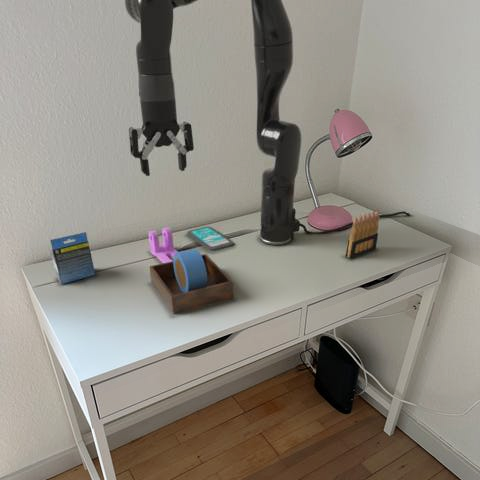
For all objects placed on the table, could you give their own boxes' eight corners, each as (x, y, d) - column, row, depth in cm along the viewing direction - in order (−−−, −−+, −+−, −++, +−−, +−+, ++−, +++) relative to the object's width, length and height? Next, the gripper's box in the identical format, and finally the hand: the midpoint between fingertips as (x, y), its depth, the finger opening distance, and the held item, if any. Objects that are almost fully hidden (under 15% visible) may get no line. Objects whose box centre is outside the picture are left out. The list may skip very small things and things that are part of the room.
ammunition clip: (350, 259, 128) (356, 218, 121) (345, 256, 129) (351, 216, 122) (375, 249, 133) (383, 209, 126) (370, 247, 134) (378, 207, 128)
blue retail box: (91, 269, 123) (82, 226, 116) (95, 275, 120) (86, 231, 113) (57, 278, 119) (45, 234, 112) (61, 285, 116) (49, 240, 109)
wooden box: (206, 270, 123) (205, 253, 120) (233, 299, 111) (233, 281, 108) (151, 283, 117) (149, 266, 114) (173, 315, 105) (171, 297, 102)
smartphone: (210, 249, 130) (185, 231, 141) (210, 252, 131) (185, 234, 141) (235, 242, 134) (209, 225, 144) (235, 245, 135) (209, 228, 145)
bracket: (150, 252, 131) (147, 229, 127) (168, 247, 134) (166, 225, 130) (170, 271, 122) (167, 247, 118) (189, 265, 125) (187, 242, 121)
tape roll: (192, 278, 118) (190, 242, 112) (208, 297, 111) (206, 259, 105) (174, 282, 116) (171, 246, 110) (189, 301, 109) (186, 263, 103)
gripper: (129, 102, 93) (139, 181, 103) (195, 96, 98) (199, 172, 108) (120, 96, 99) (130, 172, 108) (182, 91, 104) (187, 164, 113)
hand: (164, 172), depth 108 cm, fingers open, 8 cm apart
